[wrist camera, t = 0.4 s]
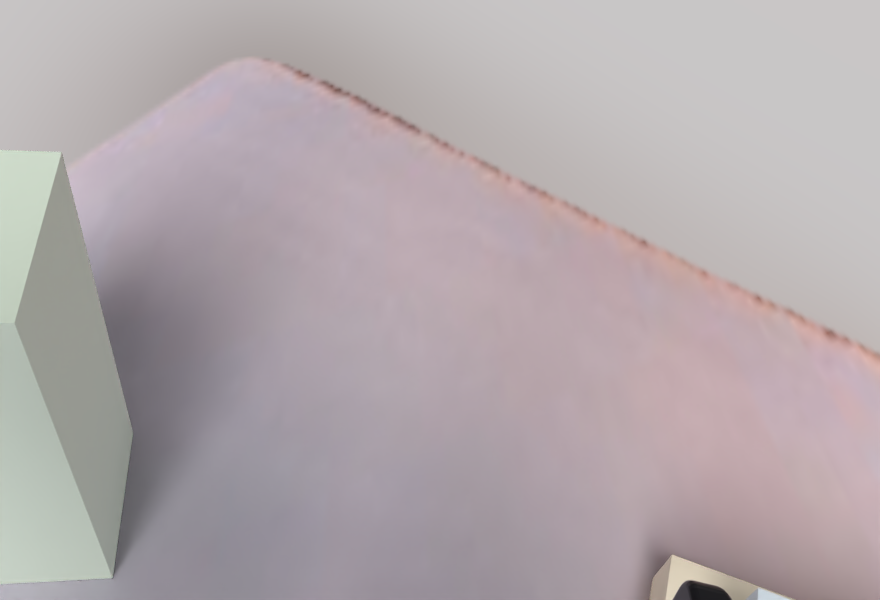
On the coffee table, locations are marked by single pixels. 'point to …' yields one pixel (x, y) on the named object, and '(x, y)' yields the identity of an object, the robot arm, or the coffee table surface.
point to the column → (54, 387)
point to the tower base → (684, 570)
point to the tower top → (764, 595)
